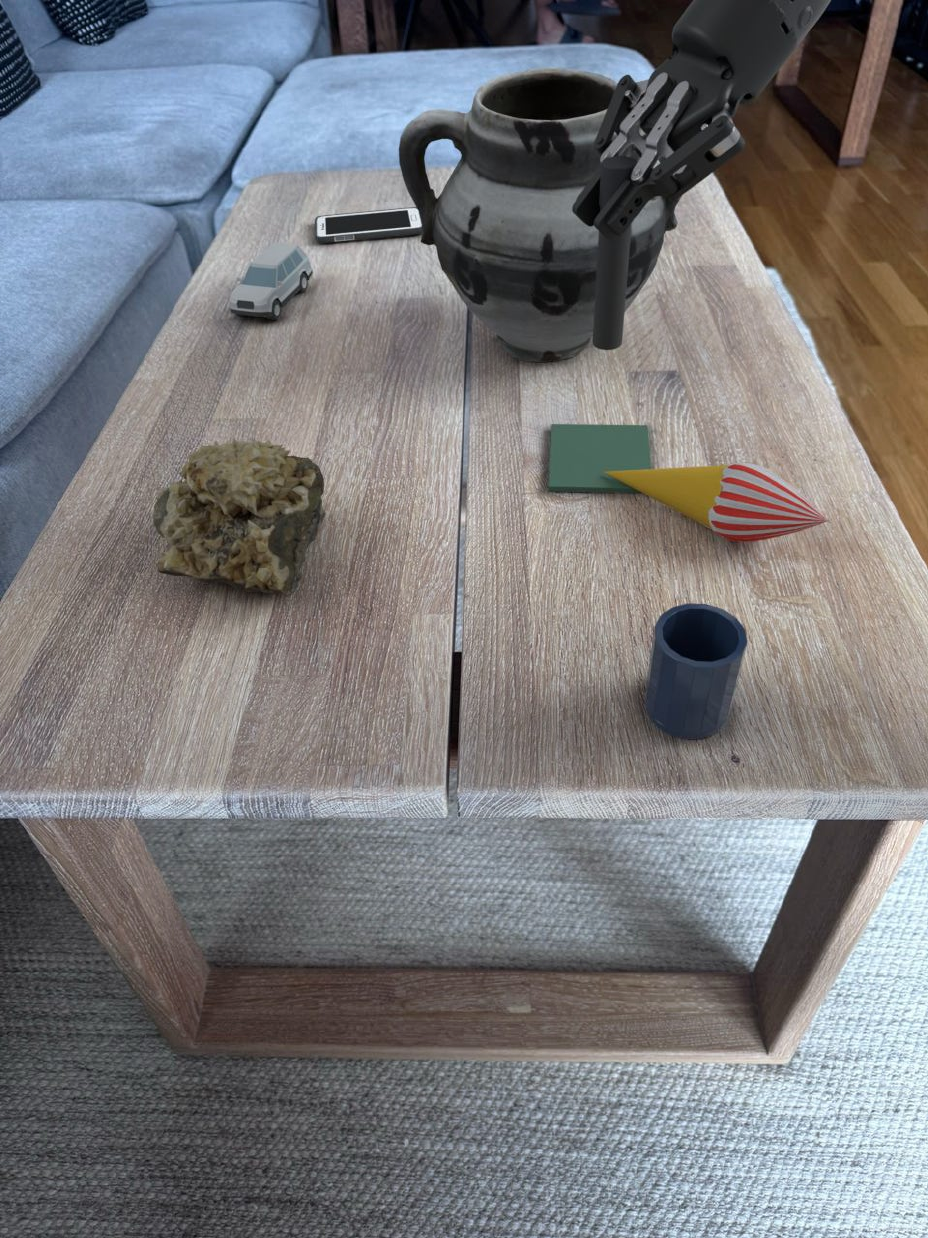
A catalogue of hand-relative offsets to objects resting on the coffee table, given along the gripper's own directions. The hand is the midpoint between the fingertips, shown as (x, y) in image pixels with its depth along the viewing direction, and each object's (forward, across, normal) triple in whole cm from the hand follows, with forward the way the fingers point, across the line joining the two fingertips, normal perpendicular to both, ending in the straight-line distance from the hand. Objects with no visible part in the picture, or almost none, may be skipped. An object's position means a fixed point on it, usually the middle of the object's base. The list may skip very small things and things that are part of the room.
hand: (592, 225), depth 67 cm
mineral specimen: (+37, -2, -7) cm, 38 cm away
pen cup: (+20, +28, +10) cm, 36 cm away
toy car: (+26, -47, +5) cm, 54 cm away
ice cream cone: (+11, +11, +19) cm, 25 cm away
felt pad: (+14, 0, +17) cm, 22 cm away
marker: (+6, 0, +8) cm, 10 cm away
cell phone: (+13, -62, +17) cm, 66 cm away
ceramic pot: (+9, -22, +21) cm, 32 cm away
